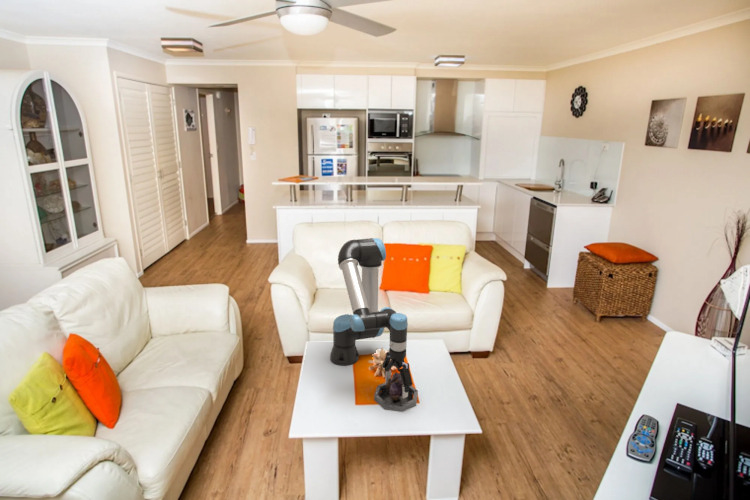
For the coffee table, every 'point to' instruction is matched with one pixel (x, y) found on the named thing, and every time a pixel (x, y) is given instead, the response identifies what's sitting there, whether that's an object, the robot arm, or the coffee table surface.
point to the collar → (395, 404)
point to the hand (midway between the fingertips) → (396, 390)
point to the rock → (395, 386)
